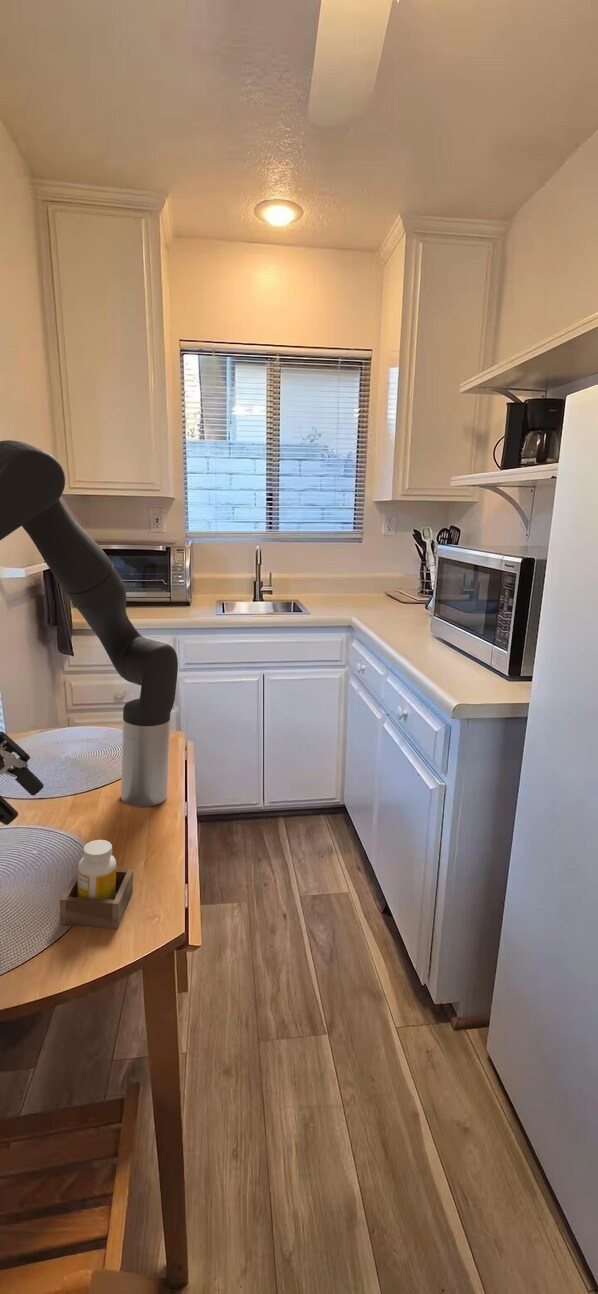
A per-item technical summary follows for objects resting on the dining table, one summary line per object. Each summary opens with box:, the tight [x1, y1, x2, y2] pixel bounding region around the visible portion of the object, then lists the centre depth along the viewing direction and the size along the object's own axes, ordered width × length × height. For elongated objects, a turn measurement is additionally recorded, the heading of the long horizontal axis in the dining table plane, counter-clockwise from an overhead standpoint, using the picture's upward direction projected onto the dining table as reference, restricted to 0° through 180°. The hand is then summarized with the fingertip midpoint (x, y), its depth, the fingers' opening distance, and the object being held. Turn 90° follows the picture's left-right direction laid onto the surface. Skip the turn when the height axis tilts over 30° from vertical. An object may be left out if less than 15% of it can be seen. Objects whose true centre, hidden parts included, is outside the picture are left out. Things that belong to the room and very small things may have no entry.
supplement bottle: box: [77, 839, 117, 900], centre depth 87 cm, size 5×5×10 cm
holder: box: [59, 868, 134, 929], centre depth 88 cm, size 8×8×4 cm
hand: (26, 805), depth 84 cm, fingers open, 8 cm apart
